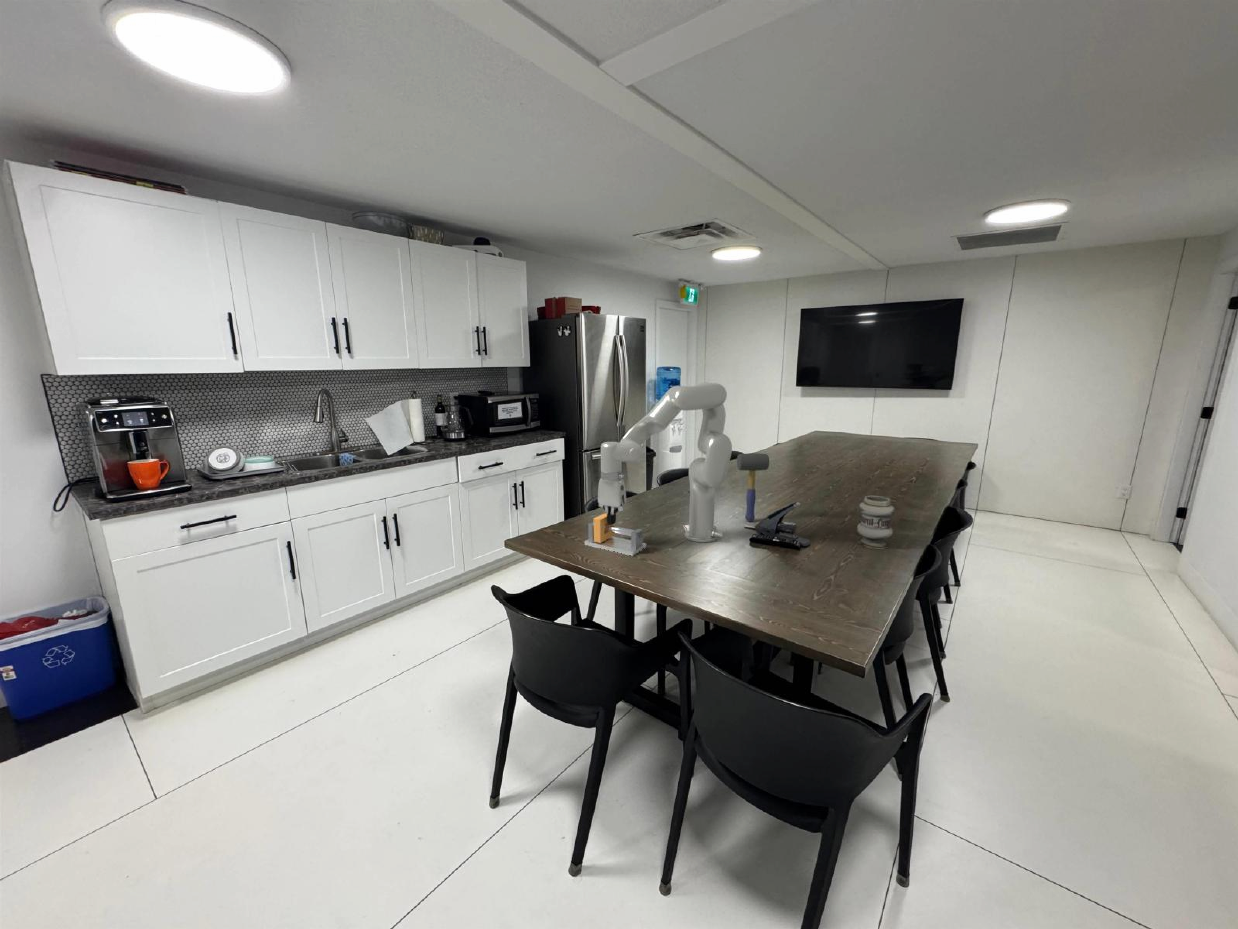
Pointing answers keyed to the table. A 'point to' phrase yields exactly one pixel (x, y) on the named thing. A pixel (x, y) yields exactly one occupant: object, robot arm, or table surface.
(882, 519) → the apothecary jar
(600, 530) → the collar
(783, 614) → the table surface
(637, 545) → the pipe stand
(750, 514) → the rubber mallet
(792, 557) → the table surface
